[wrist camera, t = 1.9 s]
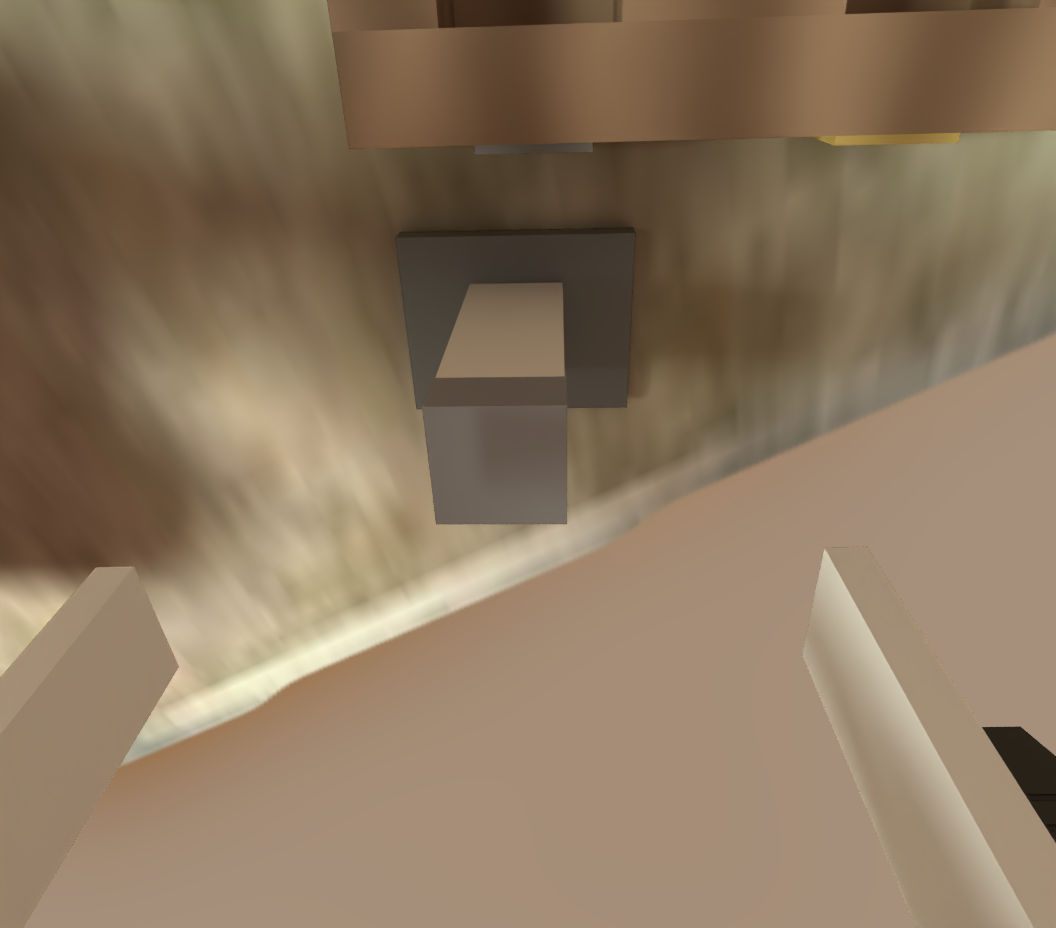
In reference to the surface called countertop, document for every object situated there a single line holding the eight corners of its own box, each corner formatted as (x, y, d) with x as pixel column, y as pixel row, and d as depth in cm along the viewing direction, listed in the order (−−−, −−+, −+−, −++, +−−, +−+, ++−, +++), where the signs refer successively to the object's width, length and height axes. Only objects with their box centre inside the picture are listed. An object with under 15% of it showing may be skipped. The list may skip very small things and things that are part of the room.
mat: (420, 400, 34) (416, 409, 33) (399, 232, 30) (395, 238, 29) (624, 398, 34) (626, 407, 33) (633, 227, 29) (635, 232, 29)
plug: (475, 370, 32) (435, 524, 22) (468, 282, 30) (422, 406, 20) (564, 369, 32) (566, 524, 22) (563, 281, 30) (566, 405, 19)
